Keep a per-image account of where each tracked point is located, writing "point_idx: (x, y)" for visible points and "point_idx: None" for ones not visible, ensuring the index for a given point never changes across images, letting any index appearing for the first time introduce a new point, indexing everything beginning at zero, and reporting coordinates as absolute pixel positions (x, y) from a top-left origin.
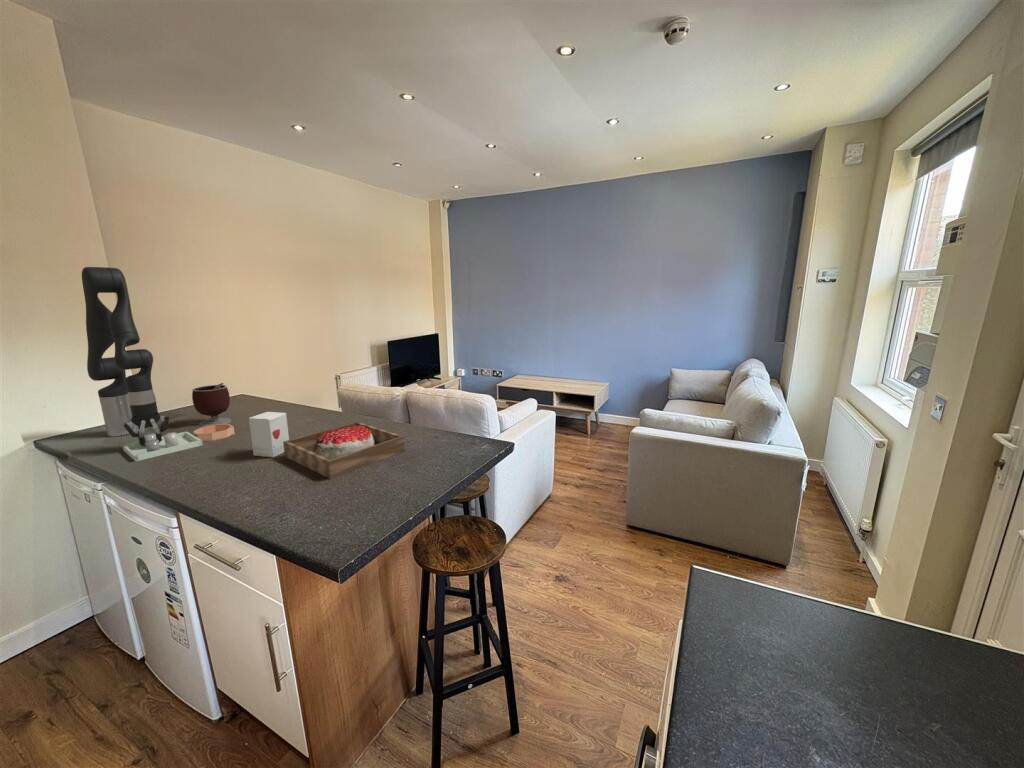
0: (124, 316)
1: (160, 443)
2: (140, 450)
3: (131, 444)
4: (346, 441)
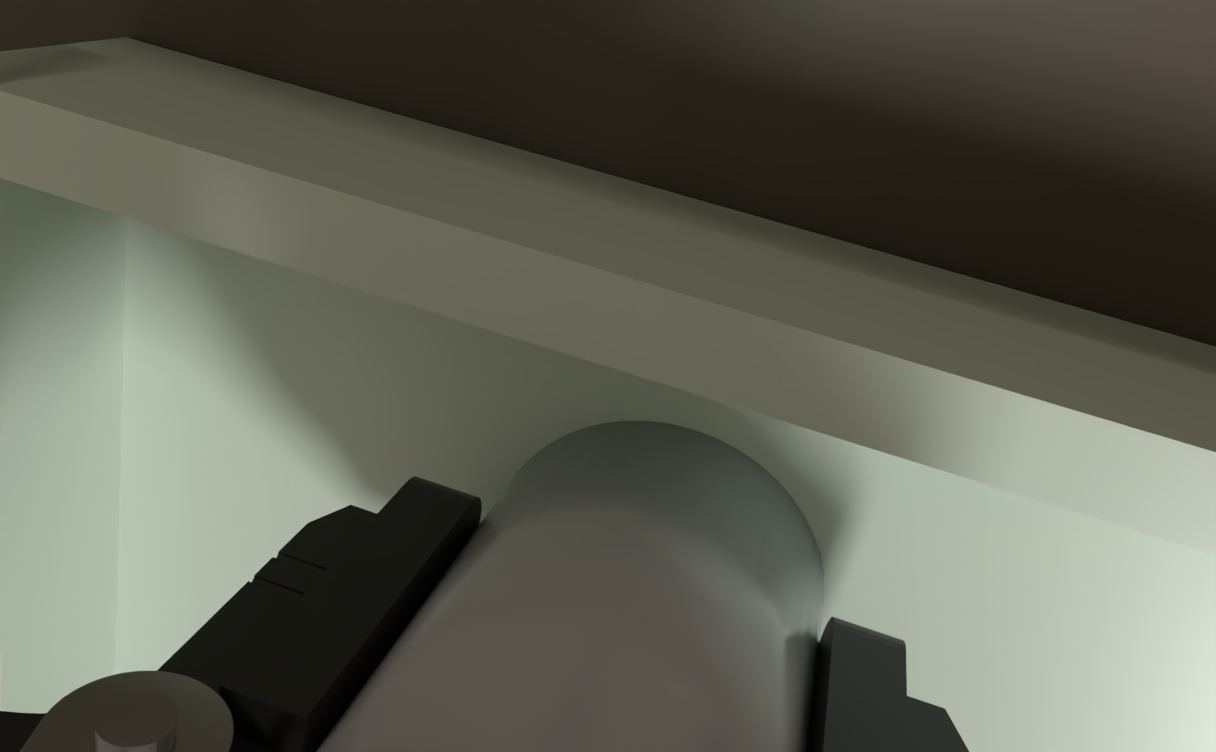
0: None
1: (971, 546)
2: None
3: (167, 216)
4: None
